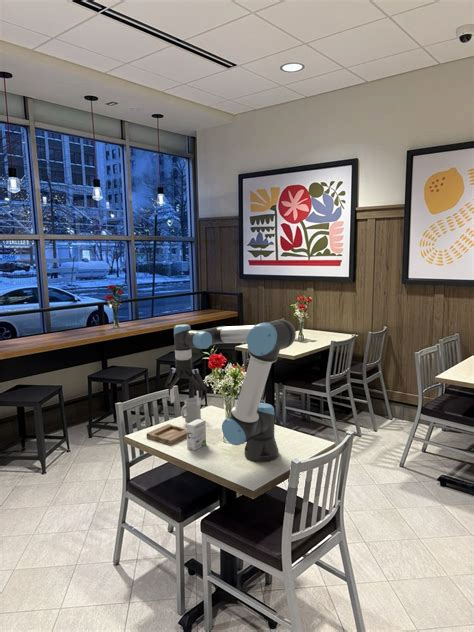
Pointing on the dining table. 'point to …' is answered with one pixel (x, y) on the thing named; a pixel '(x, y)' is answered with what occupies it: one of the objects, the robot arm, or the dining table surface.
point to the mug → (191, 410)
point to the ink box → (196, 434)
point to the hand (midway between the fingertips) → (185, 403)
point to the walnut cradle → (168, 434)
